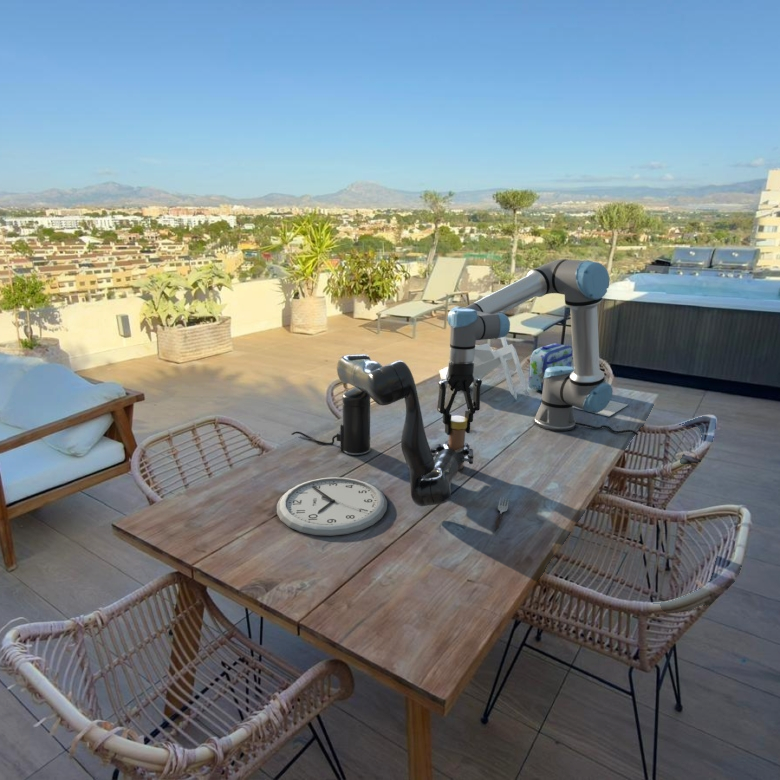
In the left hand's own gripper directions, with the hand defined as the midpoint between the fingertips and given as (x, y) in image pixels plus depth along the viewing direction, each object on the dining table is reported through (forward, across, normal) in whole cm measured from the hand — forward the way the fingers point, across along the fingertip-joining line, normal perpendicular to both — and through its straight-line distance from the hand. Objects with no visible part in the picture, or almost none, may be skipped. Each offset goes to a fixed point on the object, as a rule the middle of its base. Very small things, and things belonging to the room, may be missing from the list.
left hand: (458, 444), depth 168 cm
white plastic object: (+79, +7, +6) cm, 80 cm away
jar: (-3, 0, +6) cm, 7 cm away
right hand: (-3, 0, -5) cm, 6 cm away
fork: (-29, -18, +6) cm, 35 cm away
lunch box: (+99, -23, +6) cm, 102 cm away
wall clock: (-39, +26, +6) cm, 47 cm away
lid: (-3, 0, -9) cm, 10 cm away
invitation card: (+79, -46, +6) cm, 91 cm away
